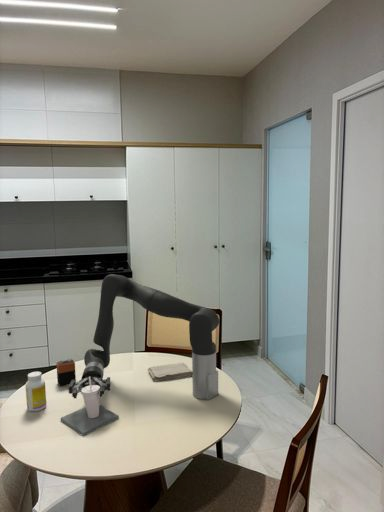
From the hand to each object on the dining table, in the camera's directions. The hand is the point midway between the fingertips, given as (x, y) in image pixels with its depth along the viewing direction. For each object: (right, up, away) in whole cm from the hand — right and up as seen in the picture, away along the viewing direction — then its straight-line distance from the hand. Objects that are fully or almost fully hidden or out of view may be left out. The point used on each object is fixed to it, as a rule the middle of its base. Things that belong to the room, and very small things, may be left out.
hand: (87, 394), depth 133 cm
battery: (-17, -6, +32) cm, 37 cm away
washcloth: (+25, -5, +40) cm, 47 cm away
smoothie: (+1, -8, +3) cm, 9 cm away
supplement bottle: (-22, -9, +12) cm, 26 cm away
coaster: (0, -9, +3) cm, 10 cm away
